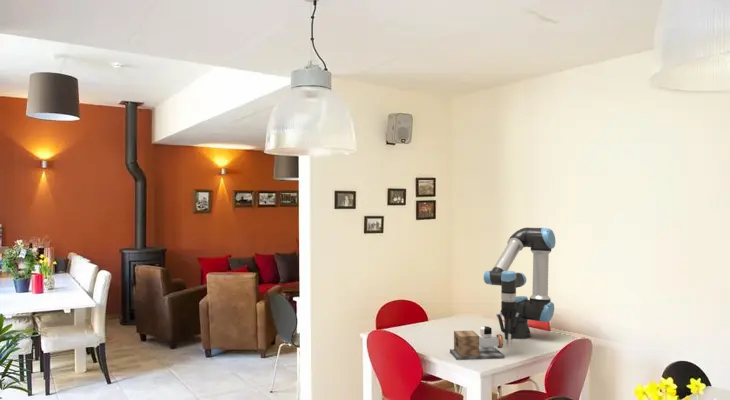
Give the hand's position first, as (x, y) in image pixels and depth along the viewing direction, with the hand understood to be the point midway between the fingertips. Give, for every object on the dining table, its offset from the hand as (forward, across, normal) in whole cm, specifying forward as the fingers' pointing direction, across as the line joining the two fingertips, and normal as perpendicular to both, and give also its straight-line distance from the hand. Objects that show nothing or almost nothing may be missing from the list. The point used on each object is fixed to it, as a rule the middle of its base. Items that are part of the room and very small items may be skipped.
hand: (508, 345), depth 285 cm
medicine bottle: (+5, -9, +11) cm, 15 cm away
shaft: (+1, -13, 0) cm, 13 cm away
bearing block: (+4, -17, 0) cm, 18 cm away
